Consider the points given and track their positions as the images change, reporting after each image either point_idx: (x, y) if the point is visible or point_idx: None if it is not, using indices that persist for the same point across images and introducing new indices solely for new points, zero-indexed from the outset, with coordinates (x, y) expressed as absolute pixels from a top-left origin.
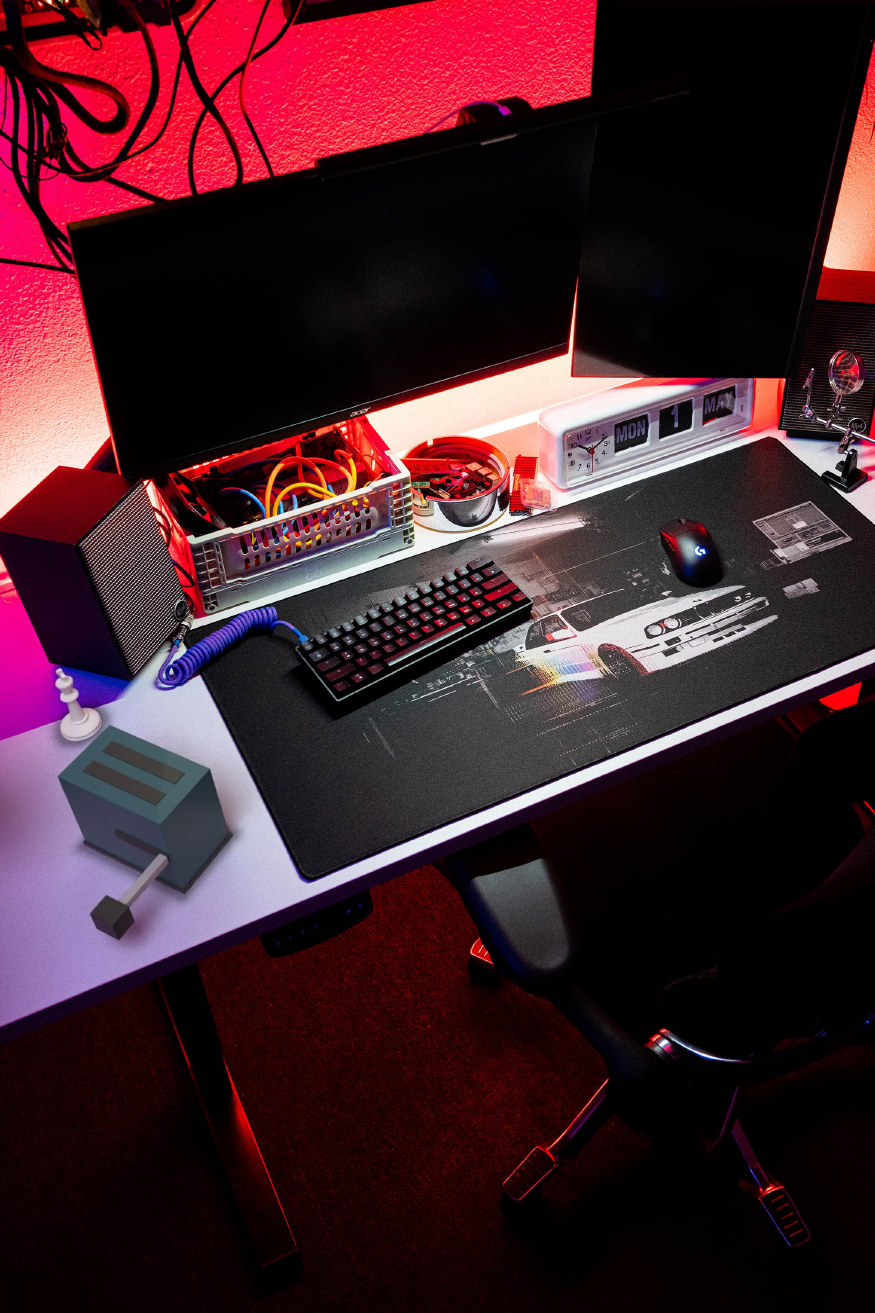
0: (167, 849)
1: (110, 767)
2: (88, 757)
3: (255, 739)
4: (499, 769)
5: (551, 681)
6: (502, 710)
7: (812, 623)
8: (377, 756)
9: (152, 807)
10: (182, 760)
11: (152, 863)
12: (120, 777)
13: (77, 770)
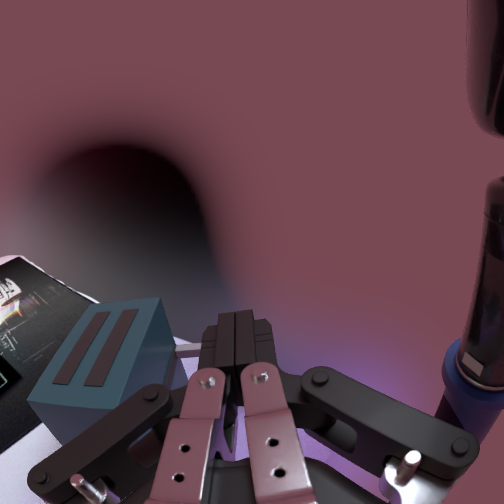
0: (171, 334)
1: (92, 365)
2: (78, 393)
3: (33, 415)
4: (66, 306)
5: (16, 311)
6: (30, 318)
7: (12, 272)
8: (53, 347)
9: (142, 309)
10: (80, 321)
11: (187, 348)
12: (107, 347)
13: (101, 392)
